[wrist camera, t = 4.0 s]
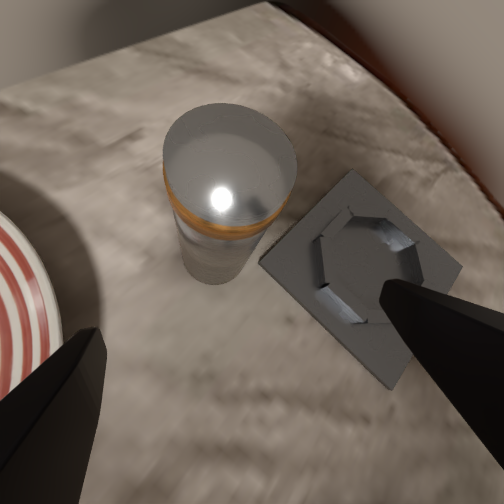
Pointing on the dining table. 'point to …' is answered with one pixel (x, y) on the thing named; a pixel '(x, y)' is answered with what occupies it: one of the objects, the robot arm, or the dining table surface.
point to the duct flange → (358, 270)
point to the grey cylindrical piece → (225, 185)
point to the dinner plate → (24, 309)
